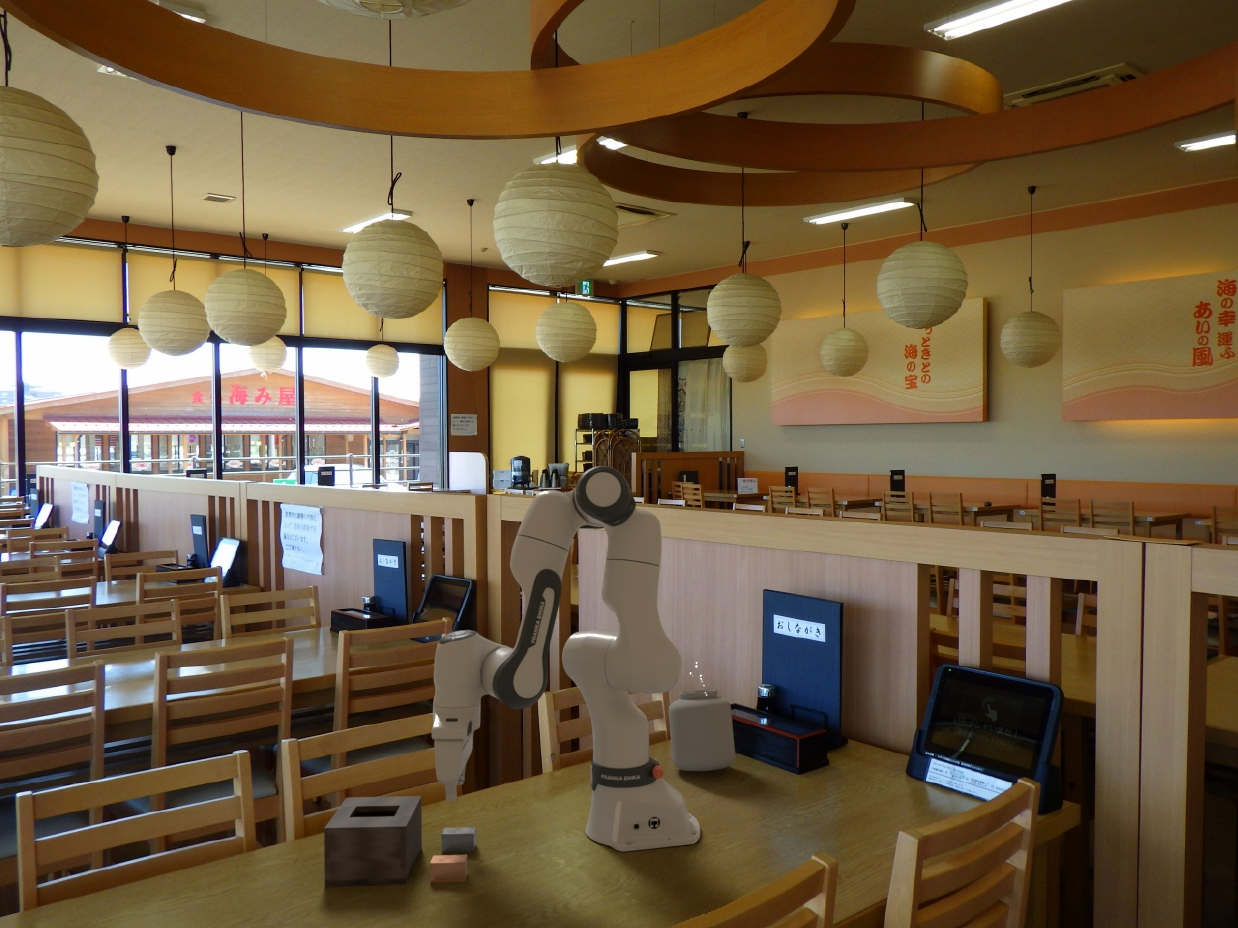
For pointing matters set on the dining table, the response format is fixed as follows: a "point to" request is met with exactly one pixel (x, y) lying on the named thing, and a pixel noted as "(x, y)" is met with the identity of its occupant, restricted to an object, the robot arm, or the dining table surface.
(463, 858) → the pink rectangular block
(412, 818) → the tip box
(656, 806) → the robot arm
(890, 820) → the dining table surface
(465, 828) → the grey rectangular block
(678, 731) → the jar
